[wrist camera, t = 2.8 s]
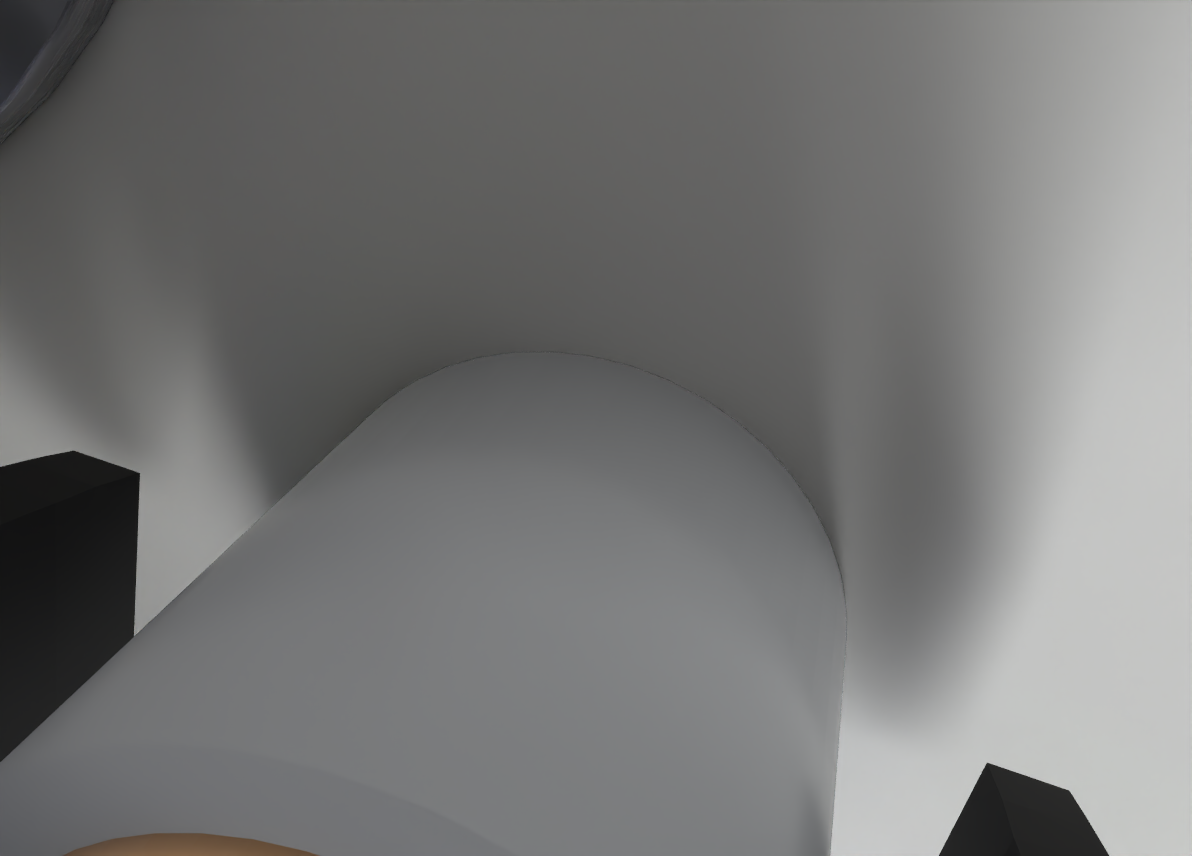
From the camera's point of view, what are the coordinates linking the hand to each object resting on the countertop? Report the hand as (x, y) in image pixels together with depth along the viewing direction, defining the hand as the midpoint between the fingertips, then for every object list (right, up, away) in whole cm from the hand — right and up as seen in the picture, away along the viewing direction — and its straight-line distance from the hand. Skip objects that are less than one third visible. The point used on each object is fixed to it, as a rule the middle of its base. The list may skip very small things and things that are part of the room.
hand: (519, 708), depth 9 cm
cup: (0, +1, +1) cm, 2 cm away
